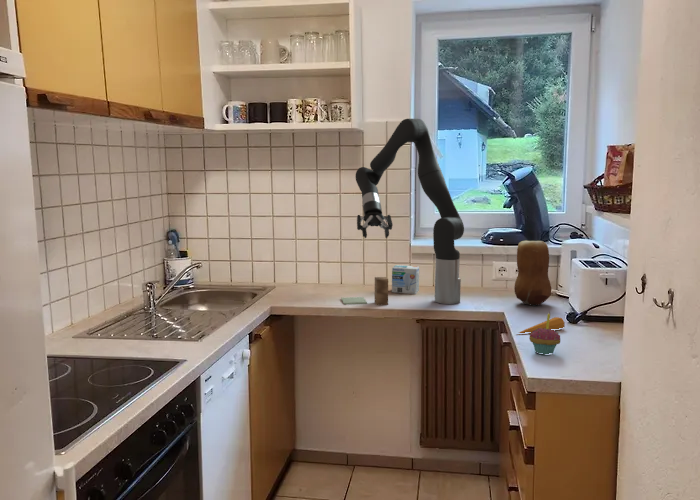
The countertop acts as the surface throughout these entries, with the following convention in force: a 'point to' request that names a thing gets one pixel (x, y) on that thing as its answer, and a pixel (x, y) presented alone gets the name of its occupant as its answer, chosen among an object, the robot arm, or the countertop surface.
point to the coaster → (354, 300)
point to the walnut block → (381, 290)
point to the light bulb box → (405, 279)
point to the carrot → (553, 324)
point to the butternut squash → (532, 272)
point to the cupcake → (544, 339)
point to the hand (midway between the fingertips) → (376, 236)
